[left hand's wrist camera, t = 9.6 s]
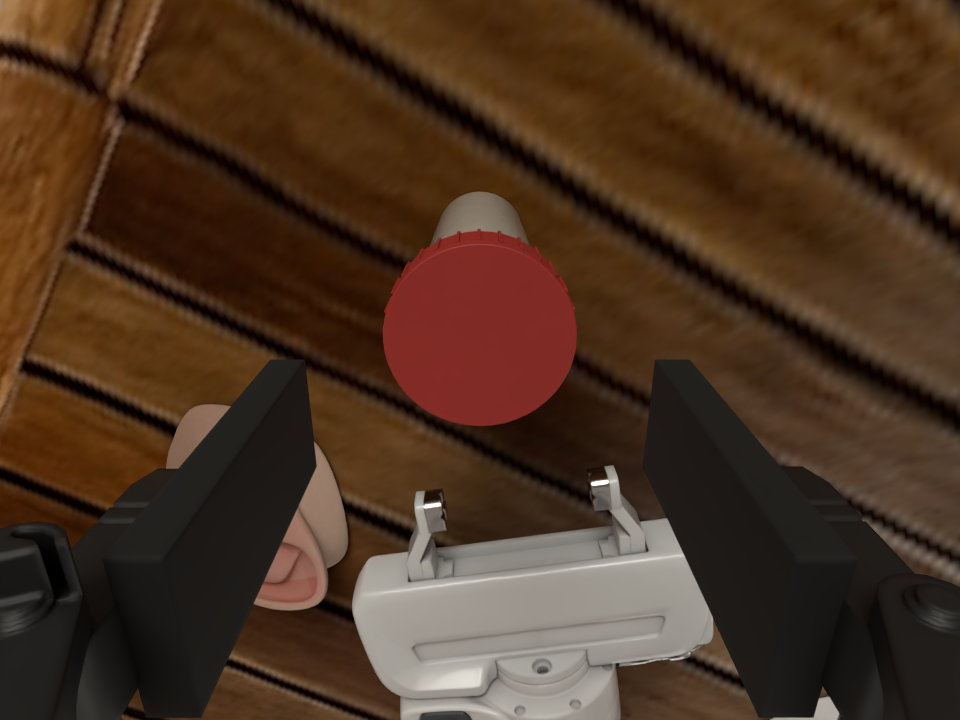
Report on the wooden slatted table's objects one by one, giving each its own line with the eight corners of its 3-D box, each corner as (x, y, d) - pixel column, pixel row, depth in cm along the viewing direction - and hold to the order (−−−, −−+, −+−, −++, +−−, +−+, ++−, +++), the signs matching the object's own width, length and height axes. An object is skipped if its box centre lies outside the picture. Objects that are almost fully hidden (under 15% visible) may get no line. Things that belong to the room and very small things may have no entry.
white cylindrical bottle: (419, 228, 34) (369, 322, 19) (488, 173, 33) (494, 225, 18) (472, 294, 36) (466, 432, 20) (540, 243, 35) (588, 348, 19)
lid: (352, 303, 20) (338, 323, 18) (496, 188, 19) (499, 197, 17) (465, 430, 22) (463, 461, 20) (604, 333, 21) (617, 356, 19)
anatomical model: (115, 433, 34) (322, 435, 34) (150, 402, 38) (337, 404, 38) (158, 618, 39) (340, 619, 39) (186, 575, 43) (351, 576, 43)
